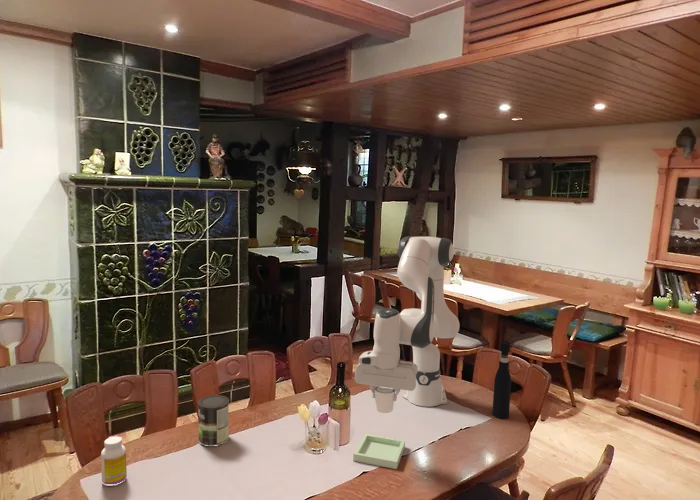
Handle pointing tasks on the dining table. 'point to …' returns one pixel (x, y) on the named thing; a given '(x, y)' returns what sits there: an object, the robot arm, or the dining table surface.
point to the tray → (379, 451)
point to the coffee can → (213, 420)
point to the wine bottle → (502, 384)
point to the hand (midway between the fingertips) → (384, 399)
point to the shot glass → (384, 399)
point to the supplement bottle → (113, 461)
